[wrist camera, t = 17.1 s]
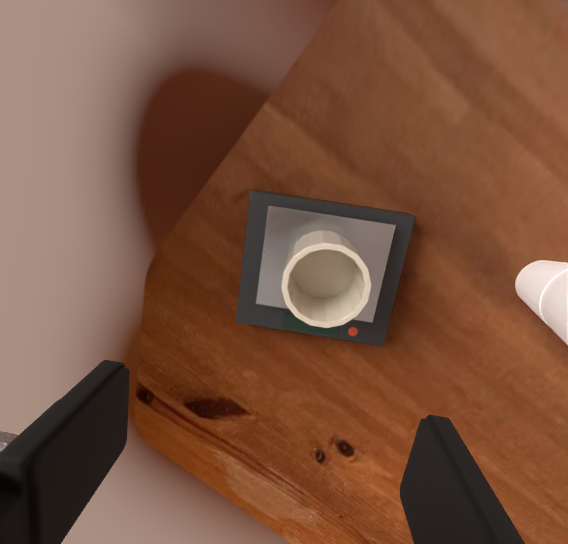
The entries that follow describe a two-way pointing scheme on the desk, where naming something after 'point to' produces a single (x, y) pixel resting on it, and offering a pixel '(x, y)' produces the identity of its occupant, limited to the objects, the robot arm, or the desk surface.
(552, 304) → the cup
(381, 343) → the scale
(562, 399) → the desk surface
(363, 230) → the scale pan
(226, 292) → the desk surface
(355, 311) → the ramekin
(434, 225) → the desk surface
